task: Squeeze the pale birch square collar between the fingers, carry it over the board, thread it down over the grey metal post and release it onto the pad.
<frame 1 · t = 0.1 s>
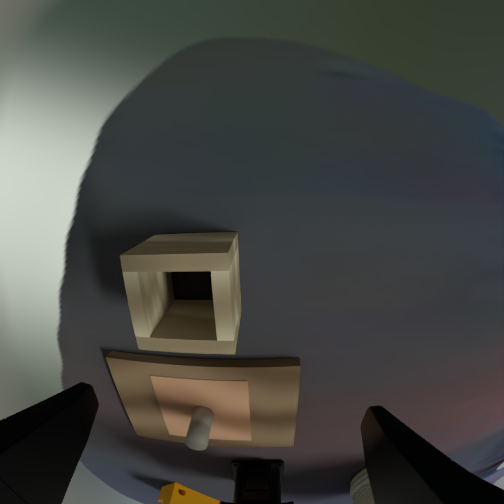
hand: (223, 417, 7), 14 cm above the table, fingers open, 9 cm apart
collar: (198, 274, 22), on the table
post board: (205, 404, 25), on the table
pipe clamp: (199, 496, 32), on the table
jar: (387, 470, 30), on the table
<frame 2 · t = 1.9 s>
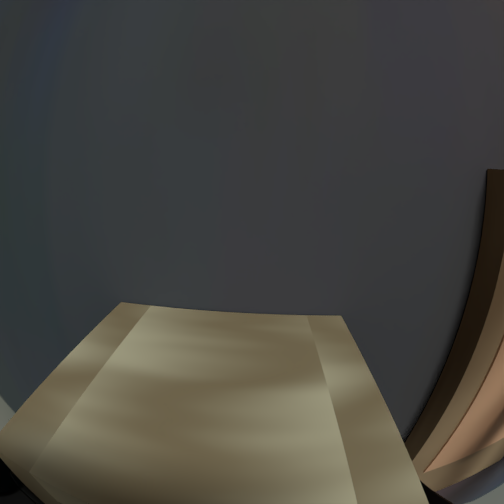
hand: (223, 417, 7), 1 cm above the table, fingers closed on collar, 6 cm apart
collar: (227, 395, 8), on the table, touching gripper
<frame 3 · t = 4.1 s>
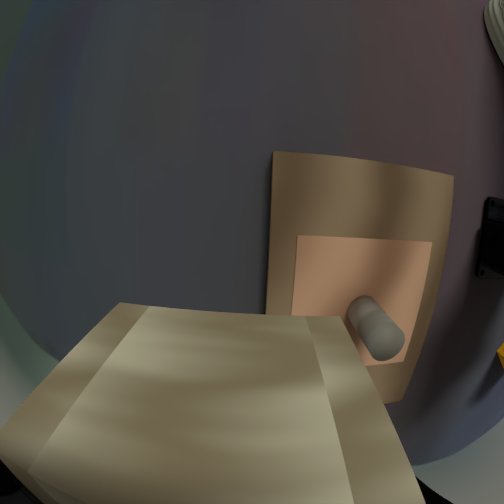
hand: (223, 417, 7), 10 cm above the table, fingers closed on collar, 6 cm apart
collar: (225, 396, 8), point 9 cm above the table, touching gripper
post board: (355, 301, 18), on the table
when the fingers open (4 cm above the table, at t = 6.6 s): collar drops 1 cm, resting on post board.
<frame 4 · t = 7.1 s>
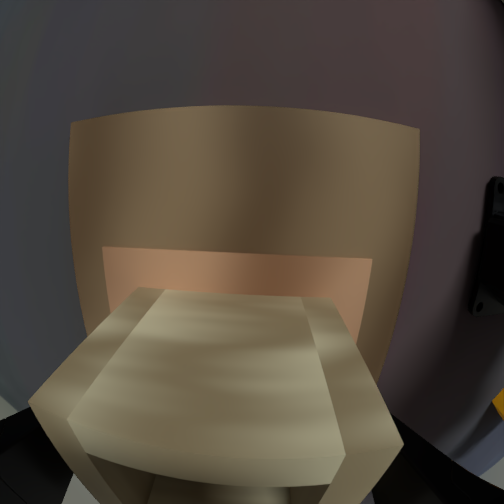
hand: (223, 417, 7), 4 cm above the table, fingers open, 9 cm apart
collar: (230, 372, 10), point 1 cm above the table, touching post board
post board: (233, 352, 11), on the table
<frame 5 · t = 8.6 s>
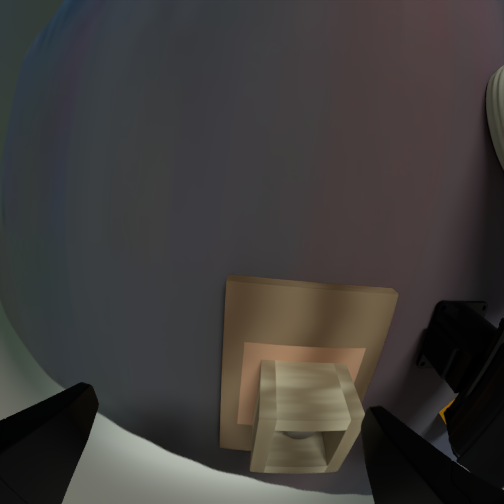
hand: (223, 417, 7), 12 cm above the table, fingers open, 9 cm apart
collar: (297, 393, 20), point 1 cm above the table, touching post board
post board: (296, 382, 21), on the table
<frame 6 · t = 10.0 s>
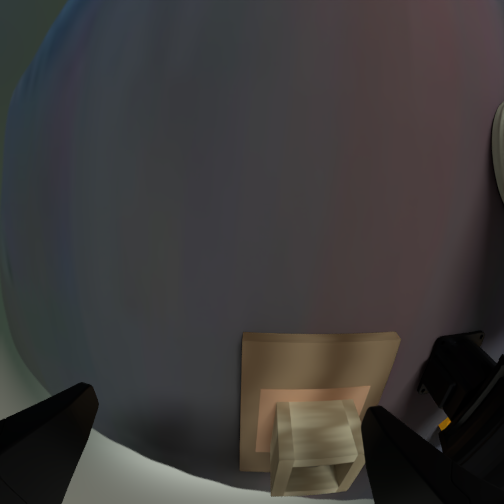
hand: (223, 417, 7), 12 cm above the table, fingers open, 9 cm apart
collar: (309, 425, 21), point 1 cm above the table, touching post board
post board: (307, 415, 22), on the table
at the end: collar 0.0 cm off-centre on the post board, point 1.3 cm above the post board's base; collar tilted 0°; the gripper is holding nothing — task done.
